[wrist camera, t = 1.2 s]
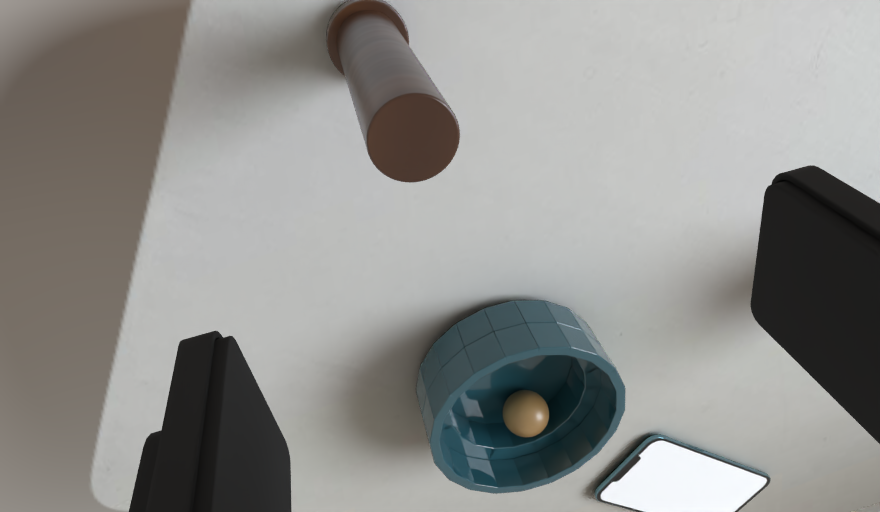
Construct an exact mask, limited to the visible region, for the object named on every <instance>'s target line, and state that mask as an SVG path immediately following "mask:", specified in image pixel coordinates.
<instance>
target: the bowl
mask: <svg viewBox="0 0 880 512" xmlns="http://www.w3.org/2000/svg"><path fill="white" fill-rule="evenodd" d="M520 390H530V391H534V392H536V393H537V394H539V395H540V396H541V397H542V398H543V399H544V400H545V402H546V403H547V406H548V409H549V420H548V423H547V425H546V427H545V429H544V430H543V431H542V432H541V433H539V434H538V435H536V436H533V437H520V436H517V435H515V434H514V433H512V432H511V431H510V430H509V429H508V428H507V426H506V425H505V423H504V420H503V406H504V403H505V401H506V400H507V398H508V397H509V396H510V395H511V394H513V393H515V392H517V391H520ZM416 393H417V397H418V401H419V405H420V409H421V413H422V417H423V421H424V425H425V429H426V433H427V436H428V440H429V444H430V448H431V452H432V456H433V460H434V463H435V464H436V466H437V467H438V468H439V469H440V470H441V471H442V472H443V474H444V475H445V476H446V477H447V478H448V479H449V480H451V481H453V482H455V483H457V484H459V485H461V486H463V487H465V488H467V489H470V490H474V491H481V492H488V493H496V494H497V493H508V492H520V491H525V490H529V489H532V488H536V487H539V486H542V485H546V484H549V483H550V482H551V483H552V482H554V481H556V480H558V479H560V478H562V477H564V476H566V475H568V474H570V473H572V472H574V471H575V470H576V469H578V468H580V467H581V466H582V465H584V464H585V463H586V462H587V461H589V460H590V459H591V458H592V457H594V456H595V455H596V454H597V453H599V452H600V451H601V449H602V448H603V447H604V446H605V444H606V443H607V442H608V441H609V439H610V438H611V437H612V436H613V434H614V433H615V432H616V430H617V428H618V425H619V423H620V421H621V418H622V416H623V413H624V411H625V386H624V384H623V382H622V380H621V377H620V375H619V373H618V371H617V369H616V368H615V366H614V364H613V363H612V361H611V360H610V358H609V357H608V355H607V354H606V352H605V351H604V349H603V348H602V346H601V344H600V343H599V341H598V340H597V338H596V337H595V335H594V334H593V332H592V331H591V329H590V328H589V326H588V324H587V323H586V322H585V321H584V320H583V319H581V318H580V317H579V316H578V315H576V314H575V313H574V312H573V311H571V310H570V309H568V308H567V307H563V306H560V305H557V304H554V303H551V302H547V301H543V300H515V301H509V302H506V303H502V304H498V305H494V306H490V307H487V308H484V309H481V310H480V311H478V312H476V313H474V314H472V315H470V316H469V317H467V318H465V319H463V320H461V321H459V322H458V323H456V324H454V325H453V326H452V327H451V328H450V329H449V330H448V331H447V332H446V333H445V334H444V335H442V336H441V337H440V338H439V339H438V340H437V341H436V342H435V343H434V344H433V345H432V347H431V349H430V351H429V352H428V354H427V356H426V357H425V359H424V361H423V362H422V364H421V366H420V370H419V375H418V381H417V386H416Z"/></svg>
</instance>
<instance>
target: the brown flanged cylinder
mask: <svg viewBox="0 0 880 512" xmlns="http://www.w3.org/2000/svg"><path fill="white" fill-rule="evenodd" d="M326 42H327V48H328V51H329V55H330V58H331V60H332V62H333V64H334V65H335V66H336V68H337V69H338V70H339V71H340V72H341V73H342V74H343V75H344V76H345V77H346V80H347V84H348V87H349V90H350V94H351V97H352V100H353V104H354V107H355V111H356V114H357V117H358V121H359V124H360V127H361V131H362V134H363V137H364V141H365V144H366V147H367V151H368V154H369V156H370V159H371V160H372V162H373V164H374V165H375V166H376V168H377V169H378V170H379V171H380V172H382V173H383V174H384V175H386V176H388V177H390V178H392V179H394V180H397V181H402V182H419V181H423V180H427V179H429V178H432V177H433V176H435V175H437V174H438V173H440V172H441V171H442V170H444V169H445V168H446V167H447V166H448V164H449V163H450V162H451V160H452V159H453V157H454V155H455V153H456V151H457V148H458V144H459V138H460V130H459V125H458V121H457V119H456V116H455V114H454V113H453V111H452V110H451V108H450V107H449V105H448V104H447V102H446V101H445V99H444V98H443V96H442V95H441V93H440V92H439V90H438V89H437V87H436V86H435V84H434V83H433V81H432V80H431V78H430V77H429V75H428V74H427V72H426V71H425V69H424V68H423V66H422V65H421V63H420V62H419V60H418V59H417V57H416V56H415V54H414V53H413V51H412V50H411V48H410V47H409V36H408V31H407V28H406V25H405V23H404V21H403V19H402V18H401V16H400V15H399V14H398V12H397V11H396V10H395V9H394V8H393V7H392V6H391V5H389V4H388V3H387V2H385V1H383V0H349V1H347V2H345V3H344V4H342V5H341V6H340V7H339V8H338V9H337V10H336V11H335V13H334V14H333V15H332V17H331V19H330V21H329V24H328V27H327V33H326Z"/></svg>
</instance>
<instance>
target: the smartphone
mask: <svg viewBox="0 0 880 512" xmlns="http://www.w3.org/2000/svg"><path fill="white" fill-rule="evenodd" d="M769 483H770V477H769V476H768V474H766V473H763V472H761V471H758V470H755V469H753V468H750V467H747V466H745V465H742V464H739V463H737V462H734V461H731V460H728V459H726V458H723V457H720V456H718V455H715V454H712V453H710V452H707V451H704V450H702V449H699V448H696V447H694V446H691V445H688V444H685V443H683V442H680V441H677V440H675V439H672V438H669V437H667V436H664V435H653V436H651V437H649V438H647V439H646V440H645V441H643V442H642V443H641V444H640V445H639V446H638V447H637V448H636V449H635V450H634V451H633V452H632V453H631V454H630V455H629V456H628V457H627V458H626V459H625V460H624V461H623V462H622V463H621V464H620V465H619V466H618V467H617V468H616V469H615V470H614V471H613V472H612V473H611V474H610V475H609V476H608V477H607V478H606V479H605V480H604V481H603V482H602V483H601V484H600V485H599V486H598V487H597V489H596V490H595V497H596V499H597V500H598V501H600V502H603V503H607V504H611V505H614V506H618V507H622V508H625V509H629V510H633V511H636V512H738V511H739V510H740V509H741V508H742V507H744V506H745V505H746V504H747V503H748V502H749V501H751V500H752V499H753V498H754V497H755V496H756V495H757V494H759V493H760V492H761V491H762V490H763V489H764V488H765V487H767V486H768V484H769Z"/></svg>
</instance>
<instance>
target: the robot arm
mask: <svg viewBox="0 0 880 512" xmlns="http://www.w3.org/2000/svg"><path fill="white" fill-rule="evenodd" d="M751 310H752V313H753V316H754V318H755V320H756V321H757V322H758V324H759V325H760V326H761V327H762V328H763V329H764V330H765V331H766V332H767V333H768V334H769V335H770V336H771V337H772V338H773V339H774V340H775V341H776V342H777V343H778V344H779V345H780V346H781V347H782V348H784V349H785V350H786V351H787V352H788V353H789V354H790V355H791V356H792V357H793V358H794V359H795V360H796V361H797V362H798V363H799V364H800V365H801V366H802V367H803V368H804V369H805V370H806V371H807V372H808V373H809V374H810V375H811V376H812V377H813V378H814V379H815V380H816V381H817V382H818V383H819V384H820V385H821V386H822V387H823V388H824V389H825V390H826V391H827V392H828V393H829V394H830V395H831V396H832V397H833V398H834V399H835V400H836V401H837V402H838V403H839V404H840V405H841V406H842V407H843V408H844V409H845V410H846V411H847V412H848V413H849V414H850V415H851V416H852V417H853V418H854V419H855V420H856V421H857V422H858V423H859V424H860V425H861V426H862V427H863V428H864V429H865V430H866V431H867V432H868V433H869V434H870V435H871V436H872V437H873V438H874V439H875V440H876V441H877V442H878V443H879V444H880V203H878V202H876V201H875V200H873V199H871V198H870V197H868V196H866V195H864V194H863V193H861V192H859V191H858V190H856V189H854V188H853V187H851V186H849V185H848V184H846V183H844V182H842V181H841V180H839V179H837V178H836V177H834V176H832V175H831V174H829V173H827V172H826V171H824V170H822V169H820V168H819V167H816V166H806V167H802V168H799V169H795V170H791V171H788V172H784V173H781V174H779V175H777V176H776V177H775V178H774V179H773V181H772V185H770V186H768V187H767V189H766V191H765V195H764V203H763V211H762V219H761V227H760V234H759V242H758V250H757V258H756V265H755V273H754V281H753V289H752V297H751ZM129 512H291V471H290V455H289V450H288V447H287V443H286V441H285V439H284V437H283V435H282V433H281V431H280V429H279V427H278V425H277V423H276V421H275V419H274V417H273V415H272V413H271V410H270V408H269V406H268V404H267V402H266V400H265V398H264V396H263V394H262V392H261V390H260V388H259V386H258V384H257V382H256V380H255V378H254V376H253V374H252V372H251V370H250V368H249V366H248V364H247V362H246V360H245V358H244V356H243V354H242V352H241V350H240V348H239V346H238V344H237V342H236V340H235V339H234V338H233V336H228V337H225V338H223V337H222V335H221V334H220V333H219V332H218V331H213V332H209V333H206V334H202V335H199V336H195V337H191V338H188V339H184V340H182V341H181V342H180V344H179V346H178V351H177V356H176V361H175V366H174V371H173V376H172V381H171V386H170V391H169V396H168V401H167V406H166V411H165V416H164V421H163V426H162V431H158V432H155V433H151V434H150V435H149V436H148V438H147V439H146V442H145V444H144V447H143V451H142V456H141V460H140V465H139V469H138V474H137V478H136V482H135V487H134V491H133V496H132V500H131V505H130V509H129ZM851 512H880V503H876V504H873V505H870V506H867V507H864V508H861V509H858V510H854V511H851Z"/></svg>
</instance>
